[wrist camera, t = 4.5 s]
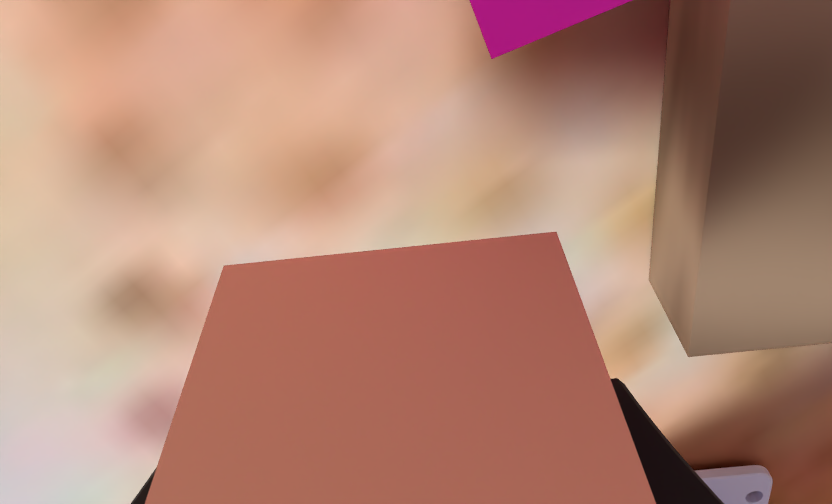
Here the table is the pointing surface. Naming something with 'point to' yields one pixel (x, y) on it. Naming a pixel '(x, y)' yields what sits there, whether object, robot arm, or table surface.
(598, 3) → the toy block
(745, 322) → the taupe block
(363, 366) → the terracotta cube
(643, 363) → the table surface
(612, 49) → the table surface
